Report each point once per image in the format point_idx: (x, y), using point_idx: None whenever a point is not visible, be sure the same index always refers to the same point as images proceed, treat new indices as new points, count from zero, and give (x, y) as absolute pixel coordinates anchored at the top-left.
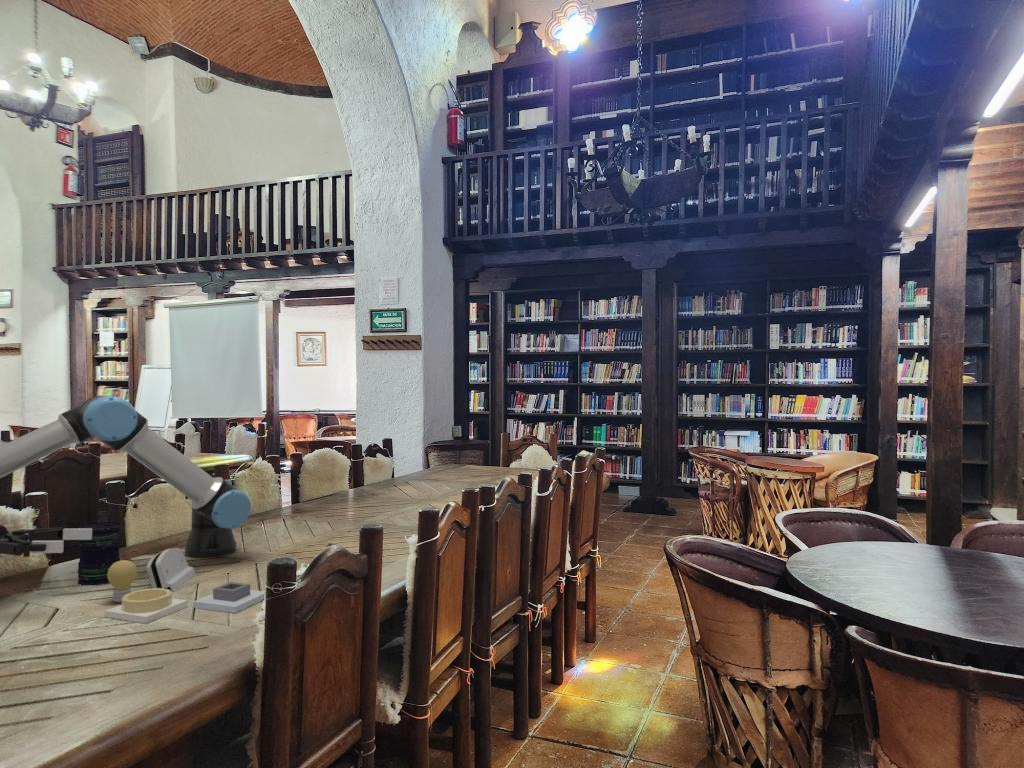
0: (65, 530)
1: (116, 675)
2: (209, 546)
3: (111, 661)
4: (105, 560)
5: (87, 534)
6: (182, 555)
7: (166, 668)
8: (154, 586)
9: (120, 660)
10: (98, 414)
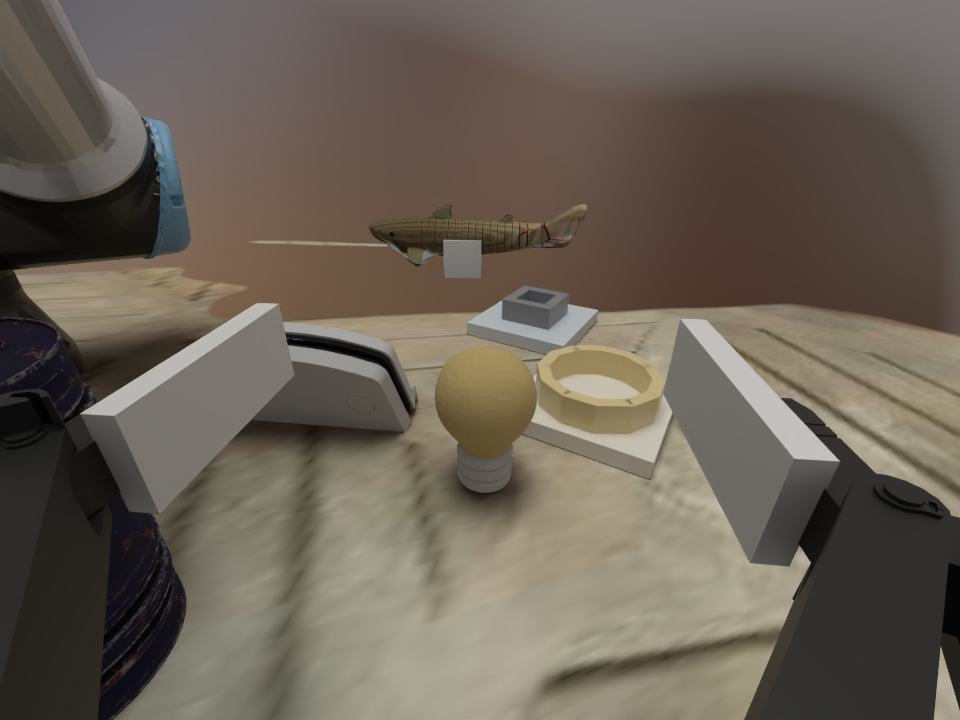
0: (144, 413)
1: (948, 387)
2: None
3: (904, 404)
4: (136, 512)
5: (275, 351)
6: None
7: (868, 349)
8: (404, 415)
9: (888, 395)
10: None
